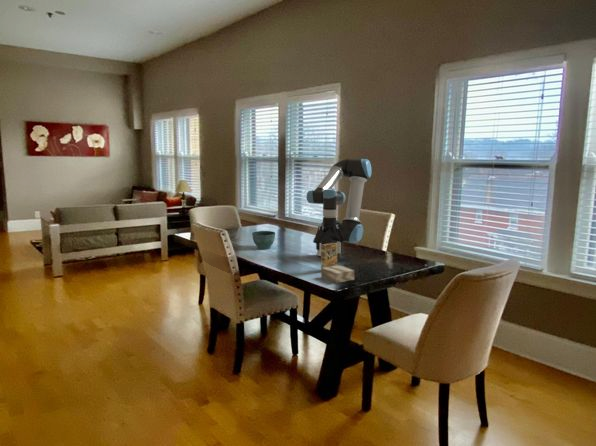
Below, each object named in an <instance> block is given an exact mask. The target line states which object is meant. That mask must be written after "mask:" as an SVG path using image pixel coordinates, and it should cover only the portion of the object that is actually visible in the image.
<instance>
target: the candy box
mask: <svg viewBox="0 0 596 446" xmlns="http://www.w3.org/2000/svg"><path fill="white" fill-rule="evenodd" d="M320 244H321V243H320ZM337 265H338V258H337V243H327V244H321V258H320V269H321V268H325V267H331V266H337Z"/></svg>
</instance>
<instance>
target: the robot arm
mask: <svg viewBox="0 0 596 446" xmlns="http://www.w3.org/2000/svg"><path fill="white" fill-rule="evenodd" d="M371 176H372V165H371V161H370V160H369V159H367V158H345V159H344V158H343V159H341V160H339V161H338V162H336V163H334V164H333V165H332V166H331V167H330V168H329V172H328V173H327V175H325V177H324V178H323V179H322V181H321V182H320V183H319V184H318V185H317V187H315V189H314V190H308V191H307V193H306V201H307V202H308V203H309V204H314V205H315V204H316V205H317V204H319V205H322V222H321V223H320V225H319V226H317V231H316V234H315V236H314V238H313V240H312V243H313V244H315V248H316V249H315V250H316V255H317V257H318V258H320V259H321V244H327V243H337V259H340V258H341V257H342V252H341V248H342V243H349V244H353V243H354V244H356V243H359V242H360V241H361V239H362V237H363V235H364V226H363V224H362V221H361V220H360V215H361V214H360V213H361V210H362V209H361V208H362V200H363V196H364V195H363V194H364V190H365V189H364V188H365V183H367V182H368V179H369V178H371ZM343 178H348V179H349V181H350V185H349V193H348V198H347V197H346V194H345V193H344V192H343V191H340V190H338V191H337V189H335V188H334V186H336V184H337V183H338V181H340V180H342V179H343ZM346 198H347V204H346V211H345V217H344V218H343V219H342V222H340V221H339V220H338V219H337V216H338V215H337V206H338V205H342V204H344V203H345V202H346Z"/></svg>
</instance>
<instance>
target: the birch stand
mask: <svg viewBox="0 0 596 446" xmlns="http://www.w3.org/2000/svg"><path fill="white" fill-rule="evenodd" d="M320 272H321V278H322V279H325V280H328V281H330V282H332V283H334V284H335V283H336V284H338V283H339V284H340V283H344V282H349V281H354V280H355V274H356V273H355V269H352V268H349V267H346V266H344V265H341V264H337V266H331V267H325V268H321V267H320Z"/></svg>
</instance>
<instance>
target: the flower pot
mask: <svg viewBox="0 0 596 446" xmlns="http://www.w3.org/2000/svg"><path fill="white" fill-rule="evenodd" d="M251 235H252V241H253V243H254V244H255V246H256V248H257V249H258V250H269V249H271V248H272V246H273V244H274V242H275V238H276V232H275V231H271V230H259V231H257V230H256V231H252V232H251Z"/></svg>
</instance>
